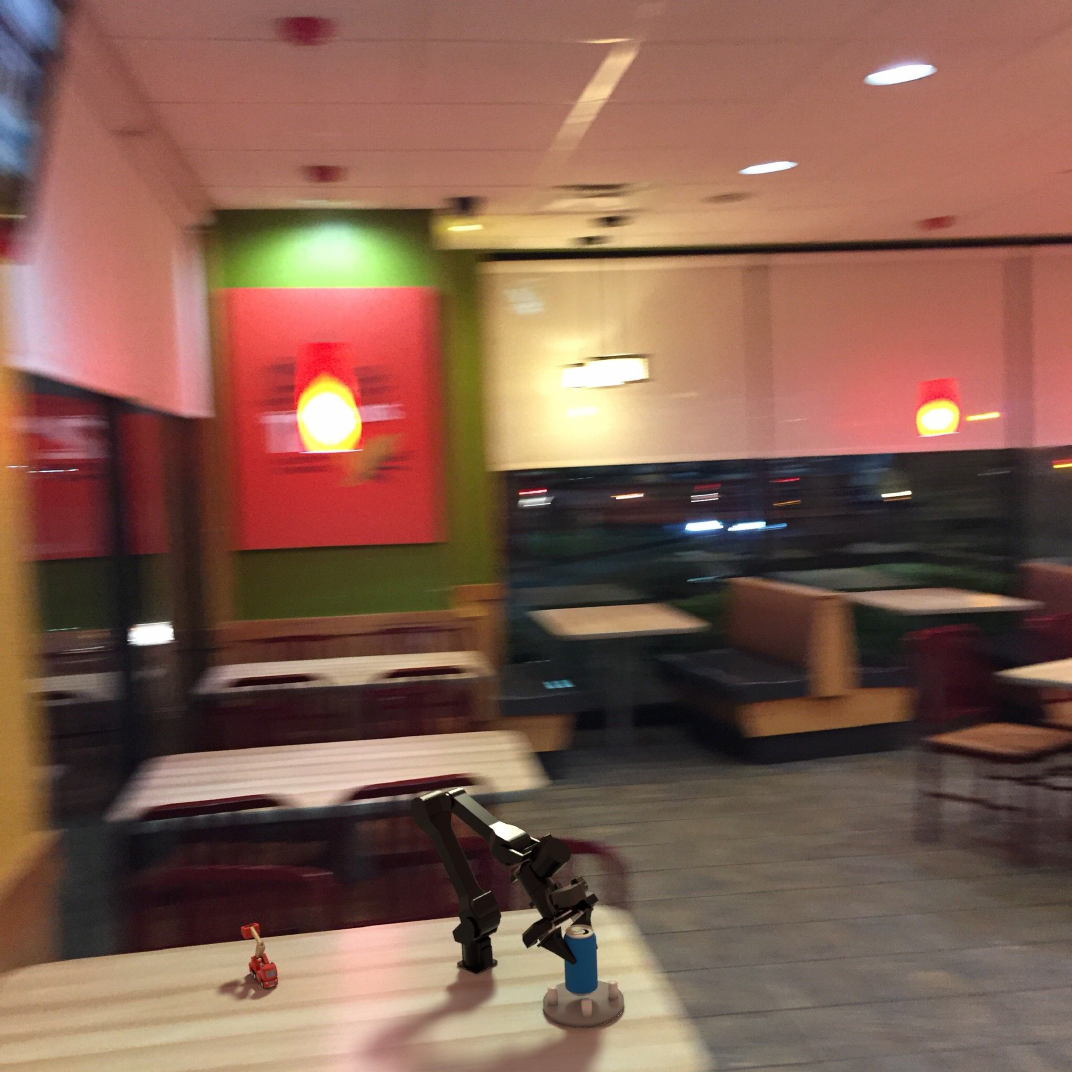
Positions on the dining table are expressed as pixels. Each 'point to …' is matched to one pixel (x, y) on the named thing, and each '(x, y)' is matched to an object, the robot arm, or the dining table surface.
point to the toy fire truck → (261, 967)
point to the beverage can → (581, 960)
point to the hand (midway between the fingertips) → (585, 956)
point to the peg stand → (583, 1005)
